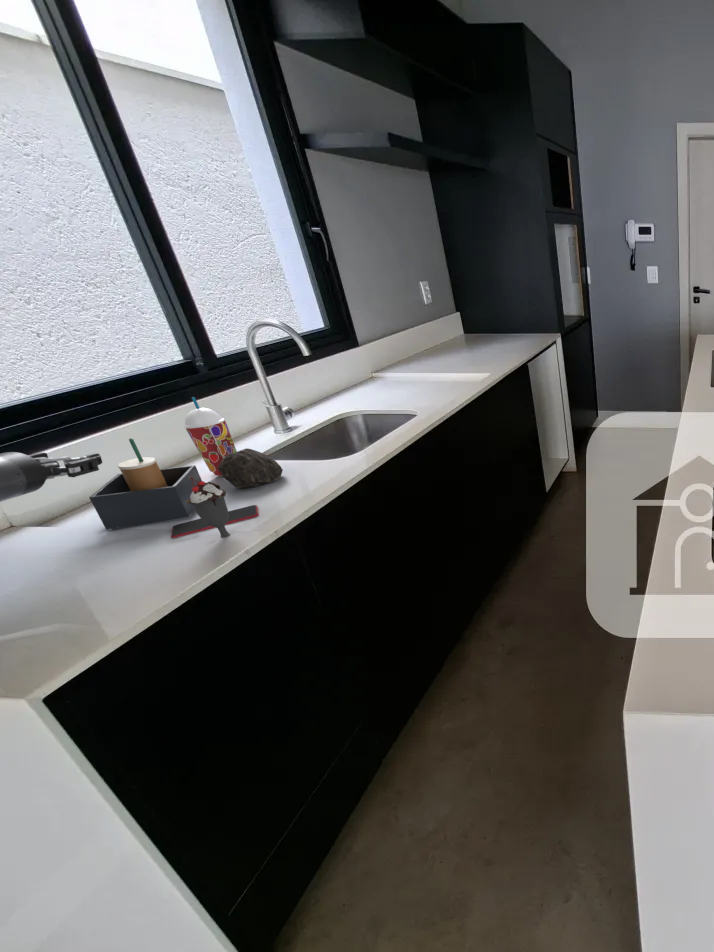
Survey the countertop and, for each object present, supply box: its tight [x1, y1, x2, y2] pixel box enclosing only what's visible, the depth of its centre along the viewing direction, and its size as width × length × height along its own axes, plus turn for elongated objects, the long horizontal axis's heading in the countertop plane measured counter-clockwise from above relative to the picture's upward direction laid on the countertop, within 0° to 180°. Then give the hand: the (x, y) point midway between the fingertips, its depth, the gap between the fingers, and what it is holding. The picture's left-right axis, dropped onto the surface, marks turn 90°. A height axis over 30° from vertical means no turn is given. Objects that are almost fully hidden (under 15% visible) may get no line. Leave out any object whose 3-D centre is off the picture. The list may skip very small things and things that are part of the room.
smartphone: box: [170, 504, 259, 539], centre depth 122 cm, size 7×1×15 cm
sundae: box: [185, 477, 231, 539], centre depth 112 cm, size 7×7×15 cm
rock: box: [218, 447, 284, 489], centre depth 140 cm, size 10×11×10 cm
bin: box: [88, 464, 203, 530], centre depth 126 cm, size 14×14×8 cm
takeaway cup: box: [117, 438, 168, 491], centre depth 124 cm, size 6×6×17 cm
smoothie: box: [183, 396, 238, 477], centre depth 144 cm, size 8×8×20 cm
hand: (72, 458), depth 111 cm, fingers open, 8 cm apart
